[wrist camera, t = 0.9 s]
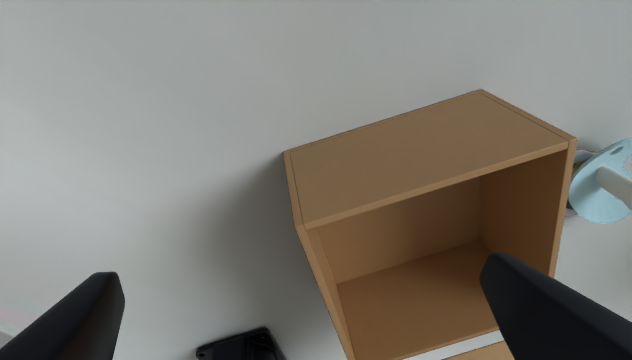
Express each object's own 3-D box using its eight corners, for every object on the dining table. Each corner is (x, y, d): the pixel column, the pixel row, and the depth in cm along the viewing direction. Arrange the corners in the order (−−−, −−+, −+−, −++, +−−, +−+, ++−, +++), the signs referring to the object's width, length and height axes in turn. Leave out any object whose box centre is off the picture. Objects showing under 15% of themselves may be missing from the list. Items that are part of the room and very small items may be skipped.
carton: (482, 237, 28) (548, 315, 22) (331, 284, 28) (353, 375, 22) (481, 88, 21) (578, 138, 15) (282, 151, 21) (294, 227, 15)
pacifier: (546, 224, 28) (620, 189, 27) (610, 283, 23) (705, 243, 22) (531, 159, 25) (616, 116, 24) (603, 212, 19) (717, 160, 18)
